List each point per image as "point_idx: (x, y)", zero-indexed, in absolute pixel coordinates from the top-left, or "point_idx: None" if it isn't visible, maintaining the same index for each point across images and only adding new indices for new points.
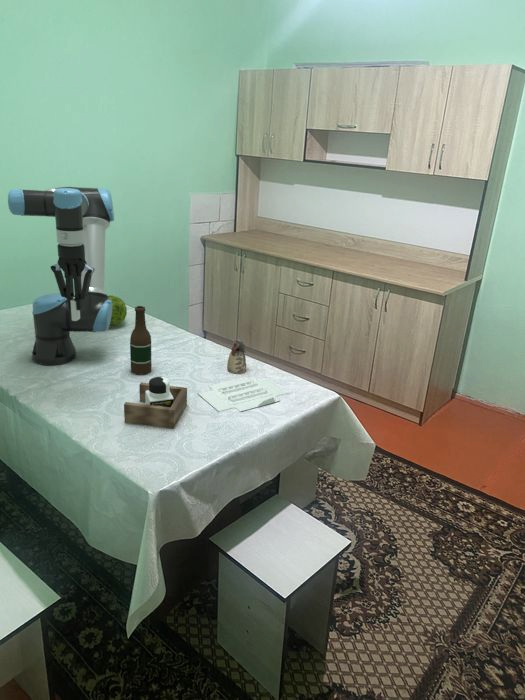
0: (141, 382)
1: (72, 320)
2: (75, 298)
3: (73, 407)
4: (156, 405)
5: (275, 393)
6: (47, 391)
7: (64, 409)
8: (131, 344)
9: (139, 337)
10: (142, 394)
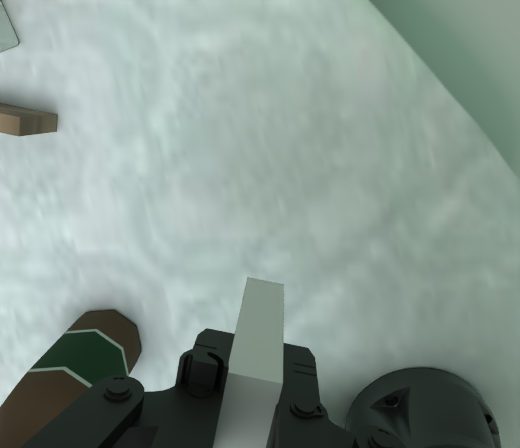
0: (16, 135)
1: (279, 284)
2: (217, 395)
3: (268, 56)
4: None
5: None
6: (384, 174)
7: (296, 39)
8: (86, 386)
9: (28, 401)
10: (32, 113)
